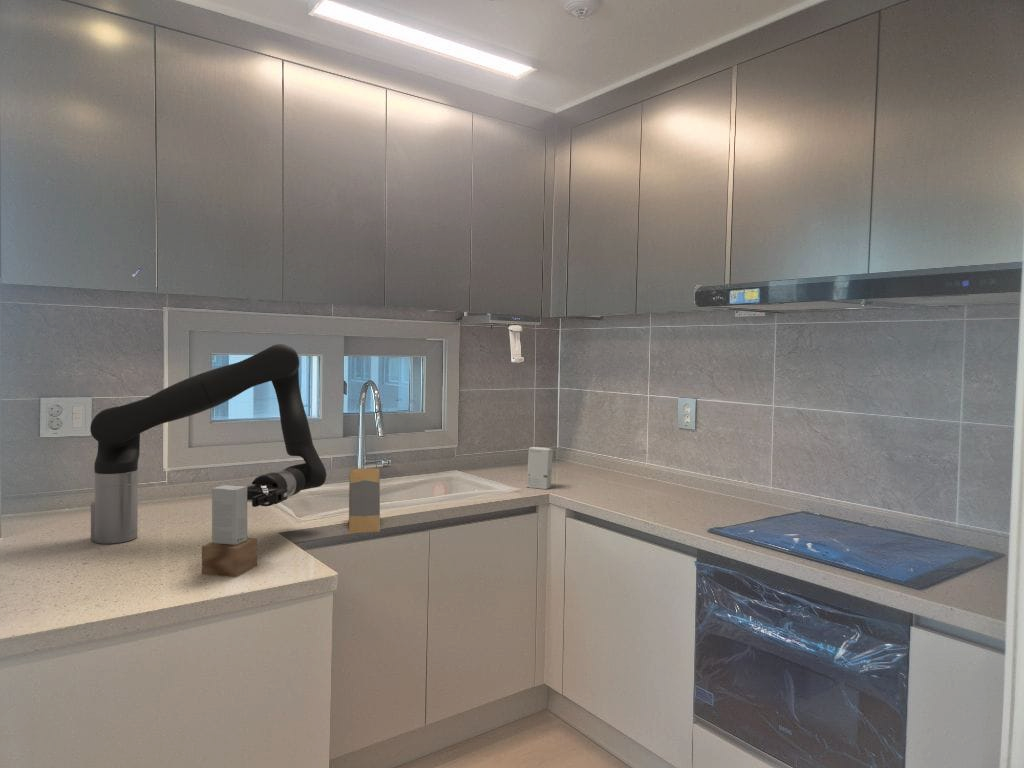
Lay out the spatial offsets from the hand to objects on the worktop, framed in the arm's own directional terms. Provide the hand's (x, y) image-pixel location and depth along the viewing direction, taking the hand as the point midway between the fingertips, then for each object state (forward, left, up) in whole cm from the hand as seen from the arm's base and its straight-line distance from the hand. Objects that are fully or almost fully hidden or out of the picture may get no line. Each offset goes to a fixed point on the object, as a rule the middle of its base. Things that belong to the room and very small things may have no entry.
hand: (235, 501), depth 141 cm
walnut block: (0, -2, -14) cm, 15 cm away
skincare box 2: (+56, +108, -15) cm, 123 cm away
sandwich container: (+14, +41, -15) cm, 45 cm away
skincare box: (0, -2, -9) cm, 9 cm away
